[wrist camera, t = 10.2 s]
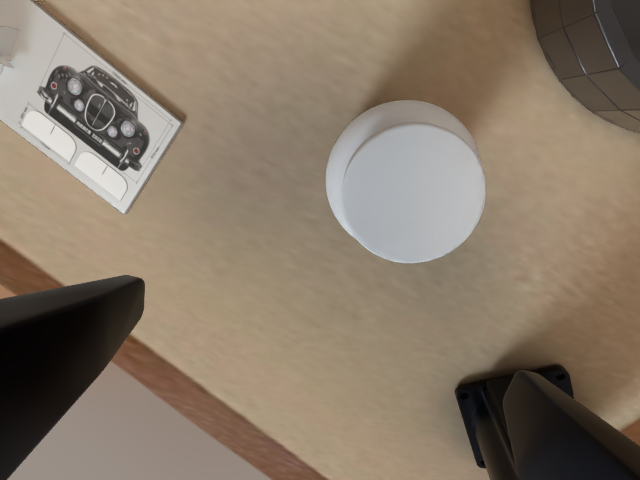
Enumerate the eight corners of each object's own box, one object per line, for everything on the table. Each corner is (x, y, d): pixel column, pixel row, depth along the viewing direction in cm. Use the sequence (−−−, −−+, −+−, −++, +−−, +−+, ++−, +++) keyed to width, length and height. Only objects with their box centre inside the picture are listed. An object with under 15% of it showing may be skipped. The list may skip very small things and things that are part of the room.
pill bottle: (464, 161, 19) (558, 202, 10) (385, 229, 21) (402, 320, 11) (393, 80, 18) (424, 44, 9) (317, 158, 20) (276, 195, 11)
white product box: (-97, 40, 20) (-218, 20, 16) (-61, -78, 18) (-188, -136, 14) (128, 212, 22) (73, 235, 18) (185, 123, 20) (137, 124, 16)
